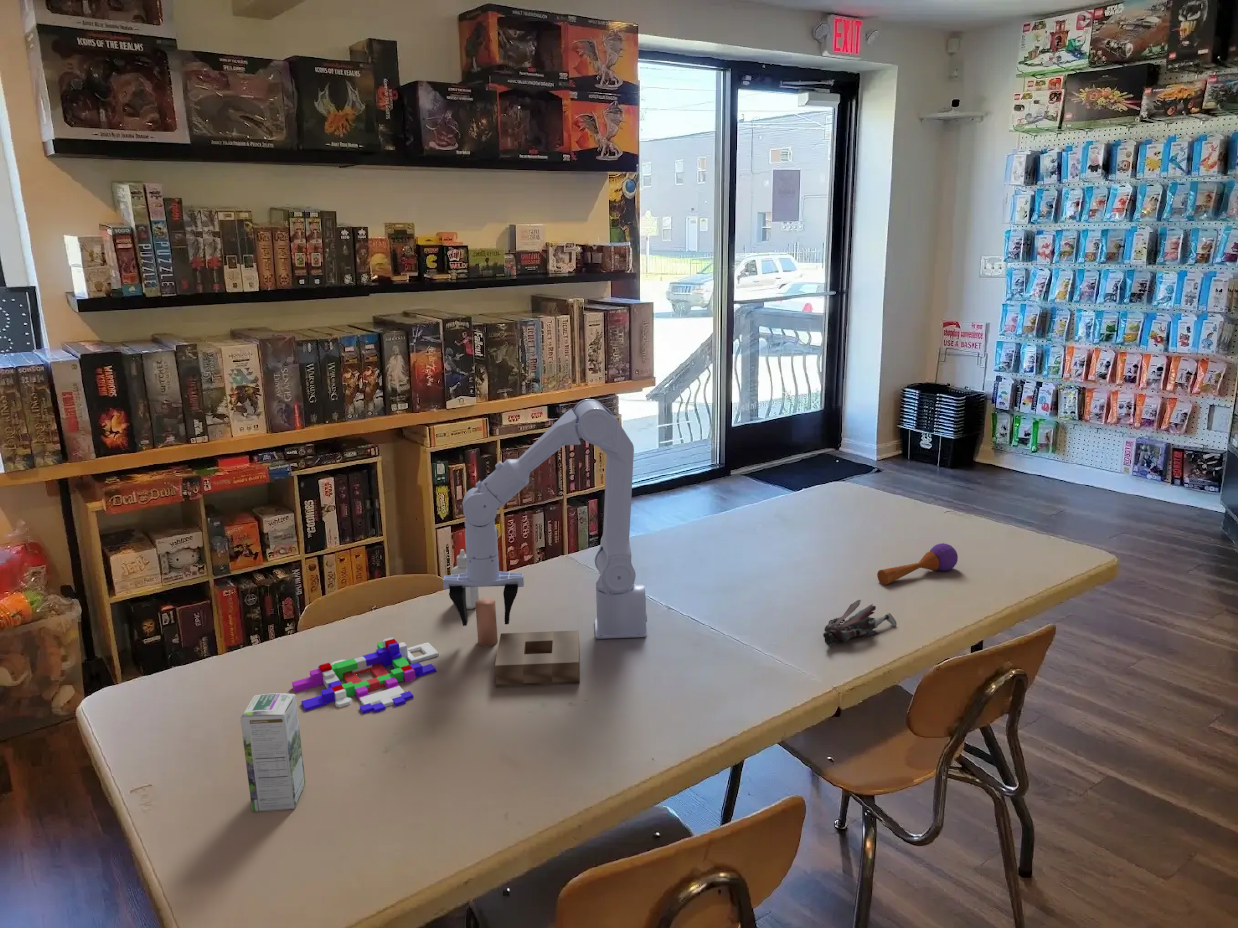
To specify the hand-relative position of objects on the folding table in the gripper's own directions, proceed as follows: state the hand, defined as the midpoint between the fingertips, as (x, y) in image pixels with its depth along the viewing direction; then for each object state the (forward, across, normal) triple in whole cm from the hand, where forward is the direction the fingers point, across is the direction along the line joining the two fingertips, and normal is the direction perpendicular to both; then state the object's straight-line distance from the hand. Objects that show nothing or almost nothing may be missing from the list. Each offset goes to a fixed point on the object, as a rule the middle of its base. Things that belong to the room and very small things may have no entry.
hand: (486, 622), depth 166 cm
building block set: (+5, +18, +13) cm, 23 cm away
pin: (+4, 0, 0) cm, 4 cm away
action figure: (+4, -68, +3) cm, 68 cm away
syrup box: (+4, +24, +45) cm, 51 cm away
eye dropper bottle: (+4, +6, -17) cm, 18 cm away
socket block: (+4, -10, +11) cm, 15 cm away
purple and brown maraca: (+4, -90, -24) cm, 93 cm away
